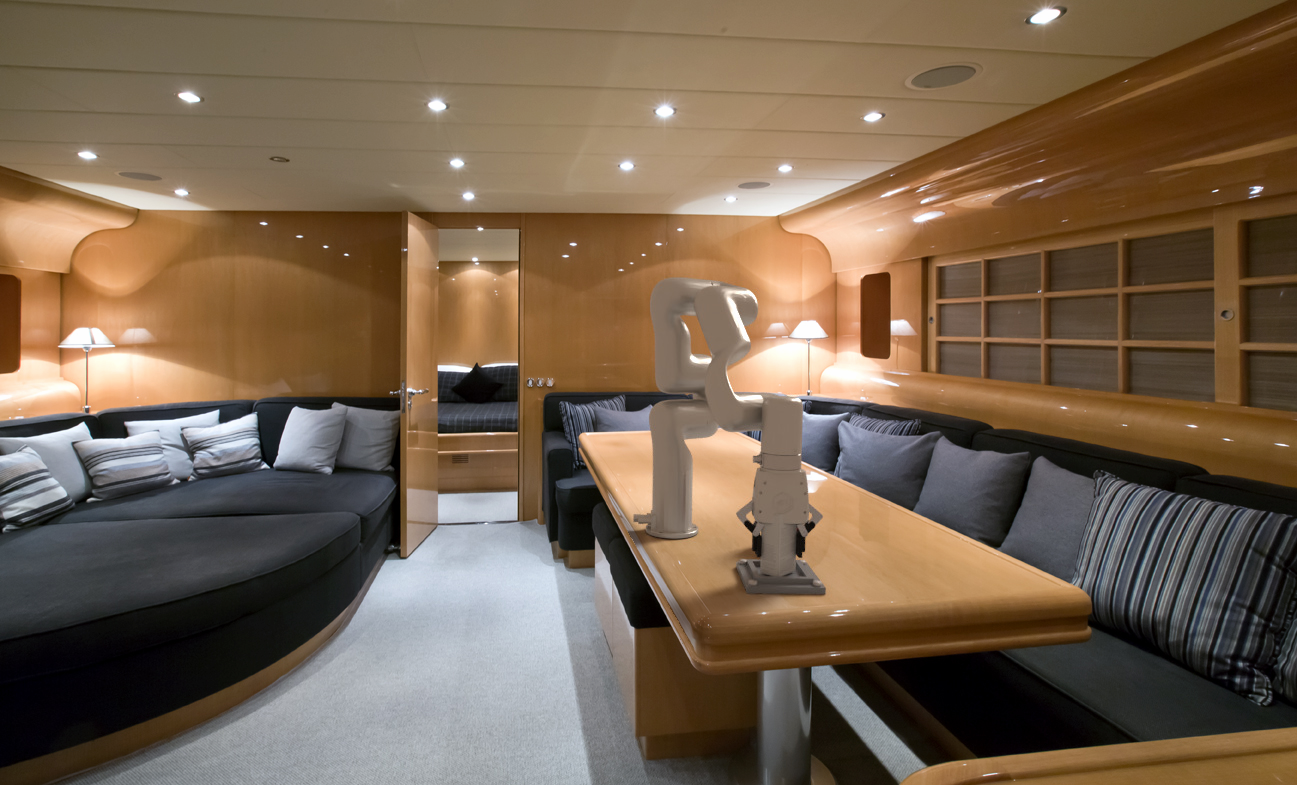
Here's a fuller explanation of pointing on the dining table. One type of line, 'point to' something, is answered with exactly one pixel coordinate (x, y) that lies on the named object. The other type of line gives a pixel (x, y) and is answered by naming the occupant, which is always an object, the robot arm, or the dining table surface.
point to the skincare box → (778, 548)
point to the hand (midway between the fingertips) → (778, 554)
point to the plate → (779, 579)
